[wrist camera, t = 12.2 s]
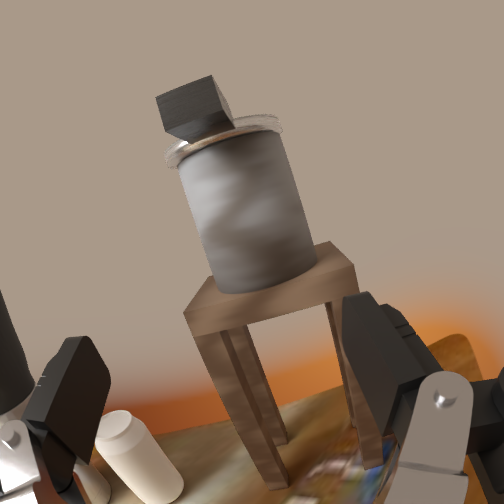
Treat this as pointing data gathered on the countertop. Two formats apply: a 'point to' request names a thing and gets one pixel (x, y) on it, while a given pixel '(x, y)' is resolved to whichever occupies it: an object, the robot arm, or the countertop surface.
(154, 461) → the beverage can
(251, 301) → the stand
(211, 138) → the cooker lid
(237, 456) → the countertop surface
